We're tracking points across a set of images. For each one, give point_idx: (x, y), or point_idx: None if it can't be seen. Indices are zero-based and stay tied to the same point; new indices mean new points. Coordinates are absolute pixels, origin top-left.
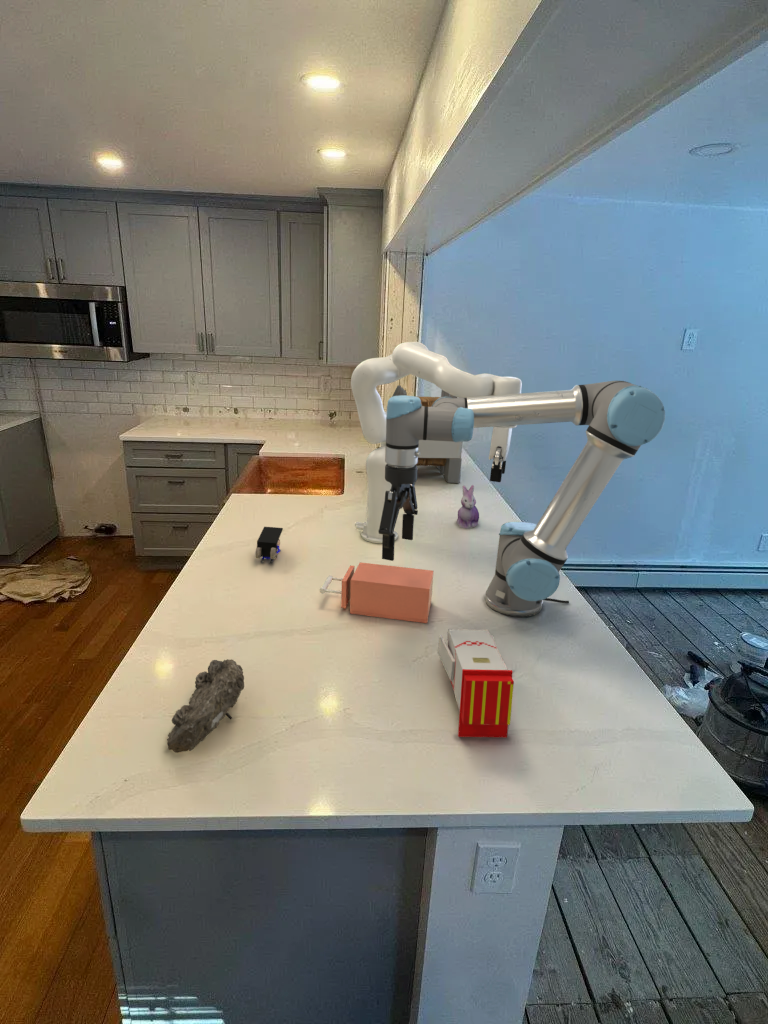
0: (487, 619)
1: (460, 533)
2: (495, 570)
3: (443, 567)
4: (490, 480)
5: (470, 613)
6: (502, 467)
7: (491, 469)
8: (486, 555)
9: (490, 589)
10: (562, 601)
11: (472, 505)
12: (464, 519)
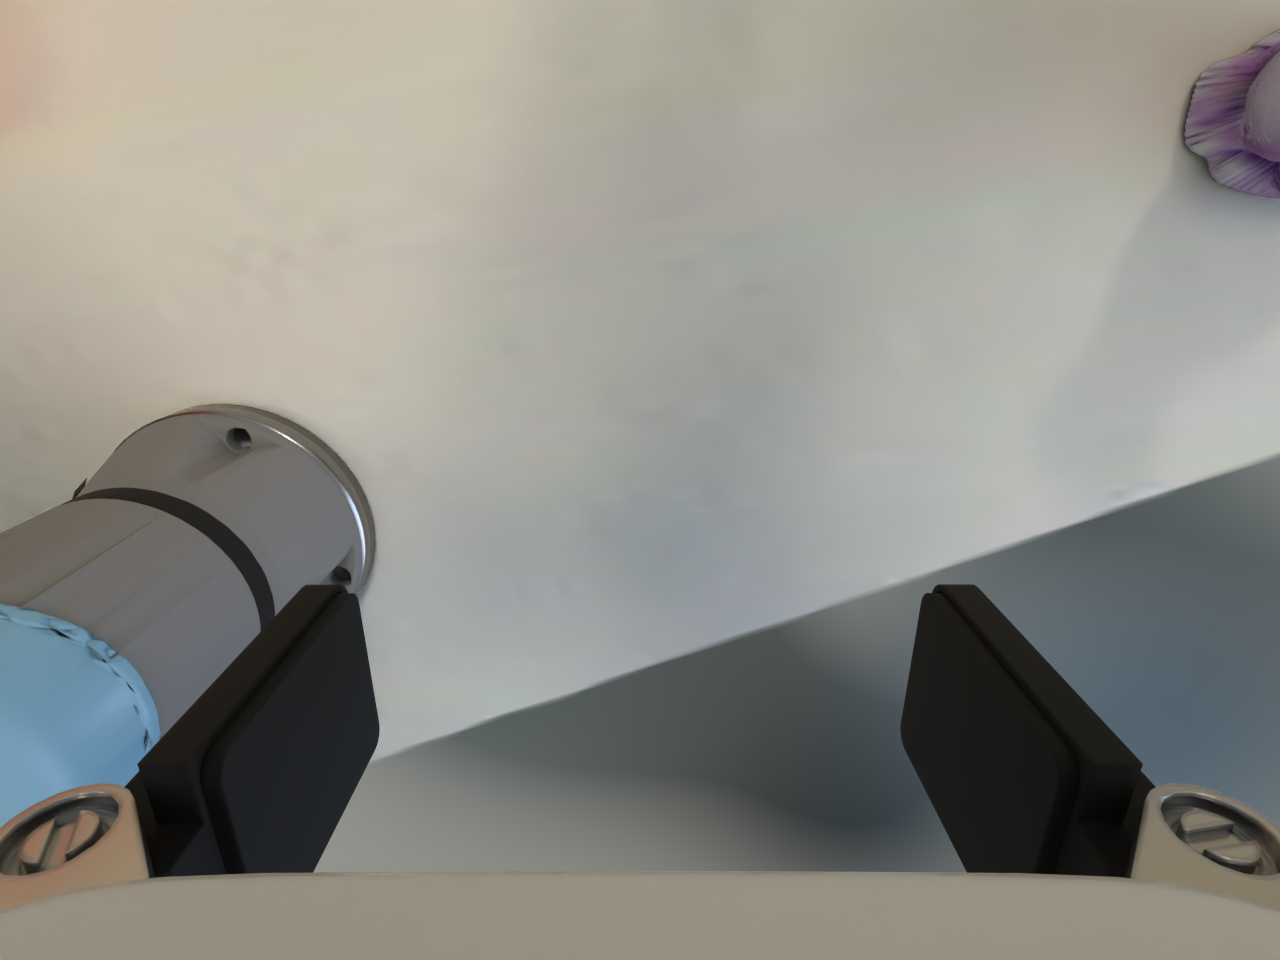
0: (38, 438)
1: (1080, 100)
2: (93, 494)
3: (466, 105)
4: (313, 592)
5: (37, 358)
6: (953, 793)
7: (166, 742)
8: (747, 335)
9: (127, 448)
10: None
11: None
12: (1250, 91)
